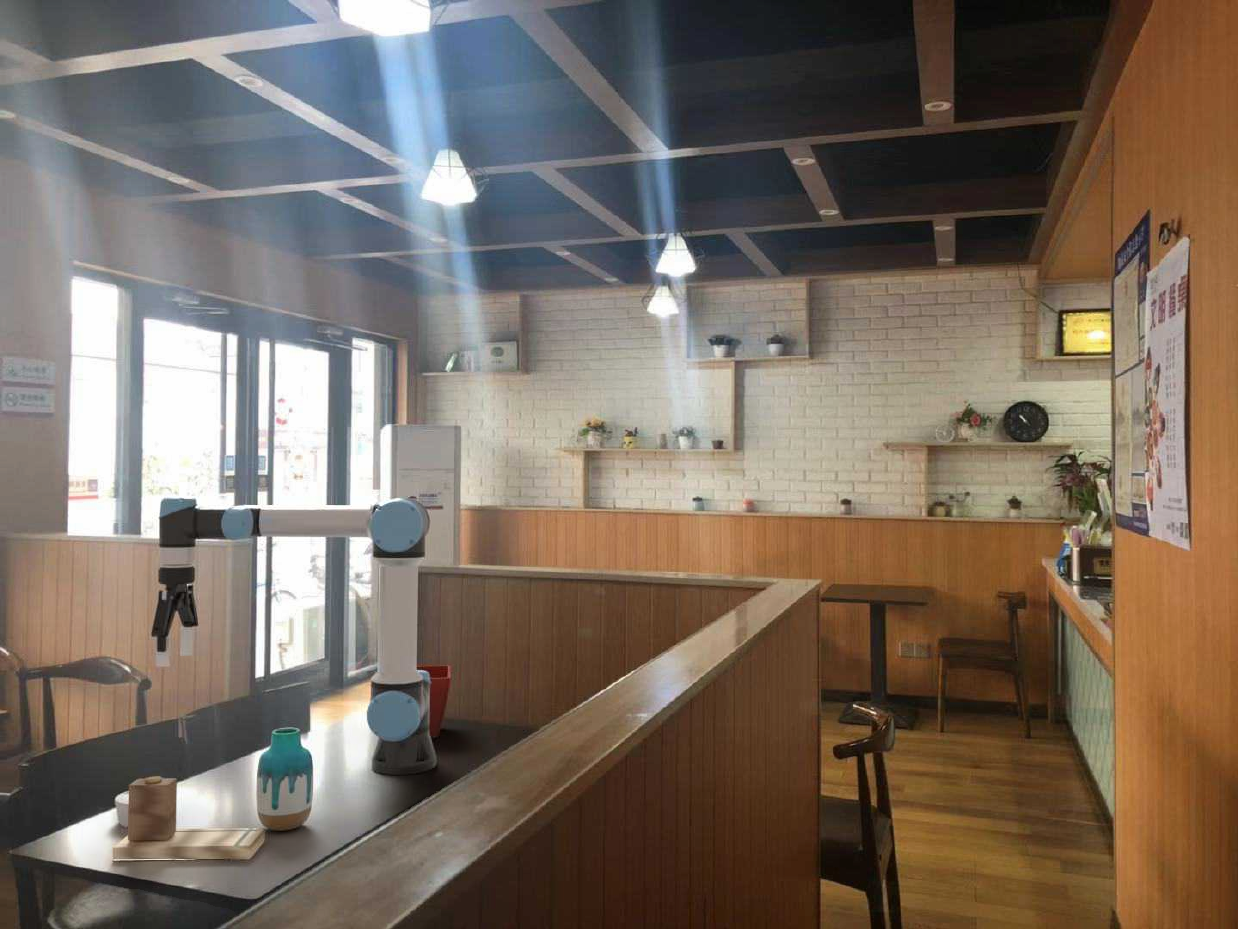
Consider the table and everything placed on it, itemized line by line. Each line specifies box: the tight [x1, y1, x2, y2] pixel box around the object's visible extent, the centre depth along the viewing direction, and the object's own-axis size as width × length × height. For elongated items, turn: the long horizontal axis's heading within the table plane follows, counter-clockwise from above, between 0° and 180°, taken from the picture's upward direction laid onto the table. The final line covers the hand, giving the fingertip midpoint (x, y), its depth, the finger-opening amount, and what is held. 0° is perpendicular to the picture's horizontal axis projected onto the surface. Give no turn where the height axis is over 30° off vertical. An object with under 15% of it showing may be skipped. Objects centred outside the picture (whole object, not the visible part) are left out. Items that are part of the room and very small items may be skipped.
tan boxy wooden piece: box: [127, 775, 178, 841], centre depth 181 cm, size 7×8×11 cm
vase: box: [255, 727, 314, 832], centre depth 192 cm, size 11×11×19 cm
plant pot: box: [417, 664, 452, 739], centre depth 266 cm, size 19×19×17 cm
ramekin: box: [114, 790, 129, 828], centre depth 196 cm, size 11×11×5 cm
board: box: [112, 827, 266, 861], centre depth 180 cm, size 24×9×3 cm, turn 94°
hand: (175, 661), depth 218 cm, fingers open, 13 cm apart
